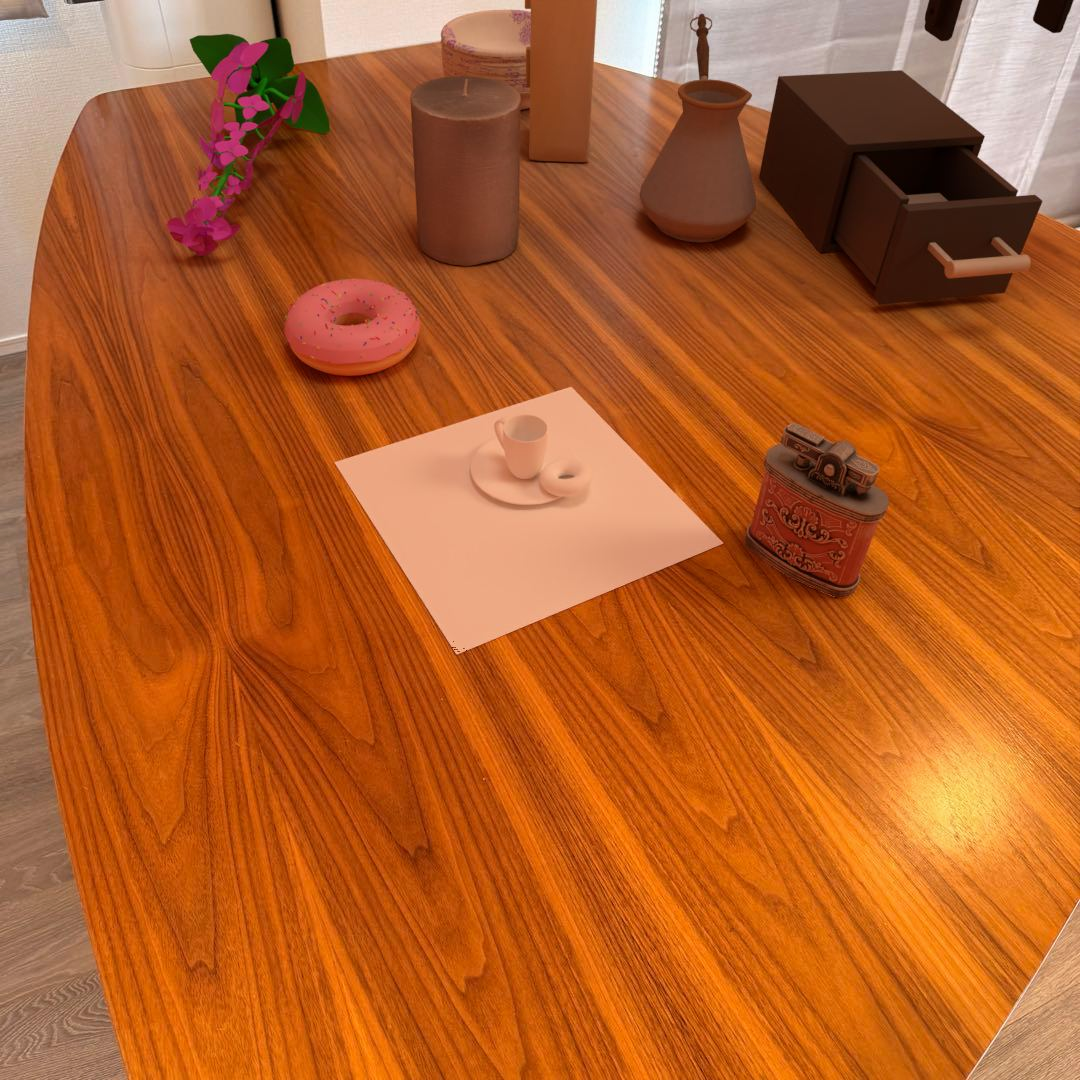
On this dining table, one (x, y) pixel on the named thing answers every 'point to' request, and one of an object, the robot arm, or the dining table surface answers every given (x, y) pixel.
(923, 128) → the dark brown boxy casing
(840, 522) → the lighter
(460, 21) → the paper bowls
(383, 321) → the doughnut
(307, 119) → the pink flower sprig
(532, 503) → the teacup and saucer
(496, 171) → the pillar candle
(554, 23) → the toy refrigerator
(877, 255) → the drawer
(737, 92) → the coffee pot
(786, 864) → the dining table surface
